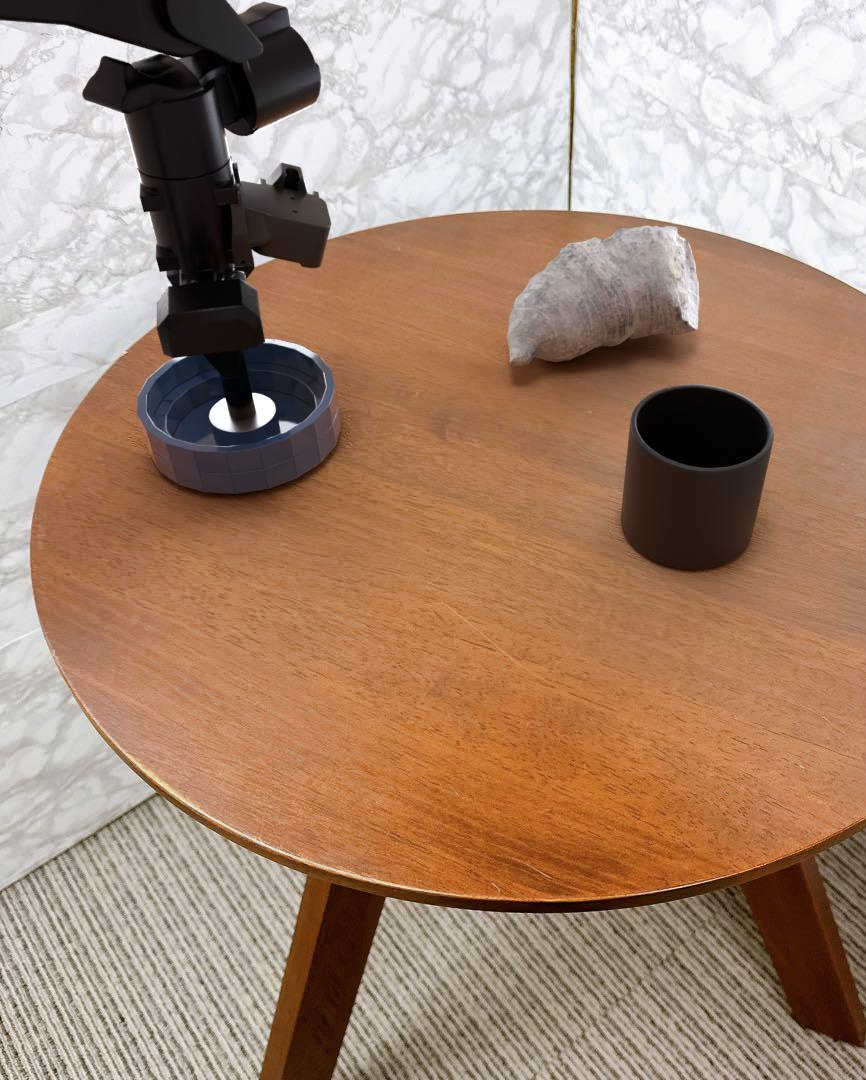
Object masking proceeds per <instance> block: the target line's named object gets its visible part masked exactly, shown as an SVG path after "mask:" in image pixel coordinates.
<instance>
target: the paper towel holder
mask: <svg viewBox="0 0 866 1080" xmlns="http://www.w3.org/2000/svg"><path fill="white" fill-rule="evenodd" d="M219 374H220V373H219ZM220 378H221V382H222V387H223V391H224V395H225V398H224V399H222V400H220V401H219V402H217V403H216V404H215V405H214V406H213V407H212V408H211V410H210V413H209V420H210V424H211V428H212V432H213V436H214V440H215V442H216V443H217V445H218V446H224V447H228V446H235V445H242V444H249V443H256V442H259V441H262V440H265V439H268V438H270V437H273V436H276V435H279V433H280V425H279V420H278V415H277V410H276V406H275V404H274V402H273V401H272V400H271V399H270V398H268V397H266V396H264V395H261V394H257V393H252V390H251V385H250V380H249V376H248V371H247V367H246V362H245V357H244V353H243V349H242V350H240V373H239V377H237V378H230V379H225V378H223V377H222V376H221V375H220Z"/></svg>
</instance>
